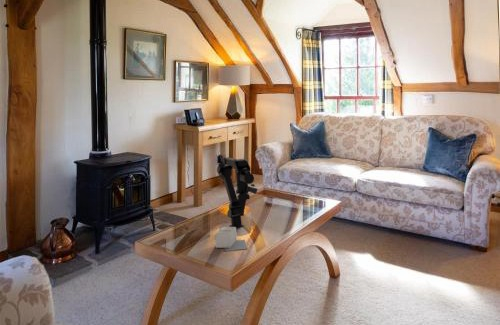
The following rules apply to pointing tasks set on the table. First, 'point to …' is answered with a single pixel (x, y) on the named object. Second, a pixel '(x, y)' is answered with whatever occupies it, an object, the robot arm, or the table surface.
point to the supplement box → (225, 237)
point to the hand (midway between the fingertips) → (243, 208)
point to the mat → (237, 245)
